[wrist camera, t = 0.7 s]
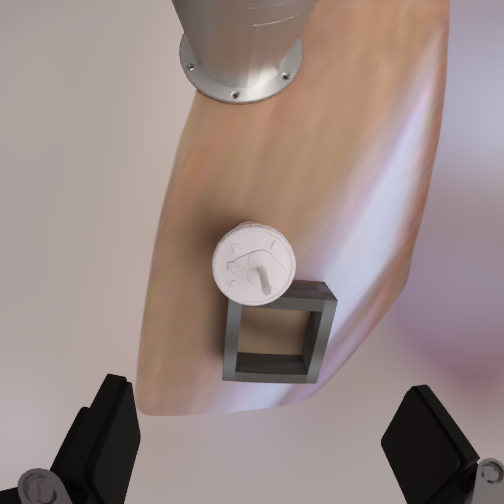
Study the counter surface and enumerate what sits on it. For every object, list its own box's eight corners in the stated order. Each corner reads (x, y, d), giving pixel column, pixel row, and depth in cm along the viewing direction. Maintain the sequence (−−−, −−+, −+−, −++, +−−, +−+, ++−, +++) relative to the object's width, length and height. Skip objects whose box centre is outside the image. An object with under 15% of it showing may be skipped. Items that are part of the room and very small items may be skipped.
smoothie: (276, 268, 33) (302, 336, 20) (217, 265, 33) (205, 333, 19) (282, 209, 32) (315, 243, 18) (219, 206, 31) (206, 237, 18)
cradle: (230, 274, 33) (229, 293, 28) (324, 282, 34) (337, 300, 29) (223, 354, 36) (222, 380, 31) (307, 358, 37) (316, 383, 32)
